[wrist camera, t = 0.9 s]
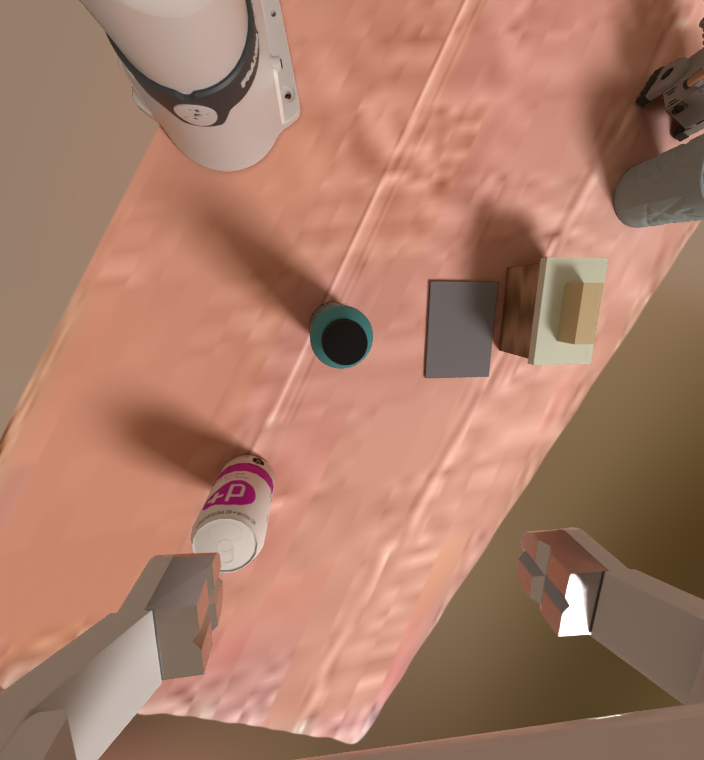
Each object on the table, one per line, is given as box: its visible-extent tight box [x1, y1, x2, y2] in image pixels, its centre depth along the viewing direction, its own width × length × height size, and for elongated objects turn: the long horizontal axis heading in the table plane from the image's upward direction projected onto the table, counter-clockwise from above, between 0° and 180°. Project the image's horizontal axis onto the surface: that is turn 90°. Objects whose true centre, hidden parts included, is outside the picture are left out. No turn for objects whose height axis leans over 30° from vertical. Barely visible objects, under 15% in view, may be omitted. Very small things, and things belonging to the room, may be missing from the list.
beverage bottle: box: [309, 302, 373, 369], centre depth 39 cm, size 6×7×20 cm
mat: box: [425, 282, 498, 378], centre depth 51 cm, size 14×10×1 cm
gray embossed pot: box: [614, 134, 704, 228], centre depth 44 cm, size 10×10×12 cm
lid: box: [528, 257, 608, 365], centre depth 42 cm, size 13×8×4 cm, turn 0°
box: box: [499, 263, 540, 358], centre depth 48 cm, size 12×7×8 cm, turn 0°
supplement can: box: [191, 455, 275, 573], centre depth 45 cm, size 8×8×15 cm
